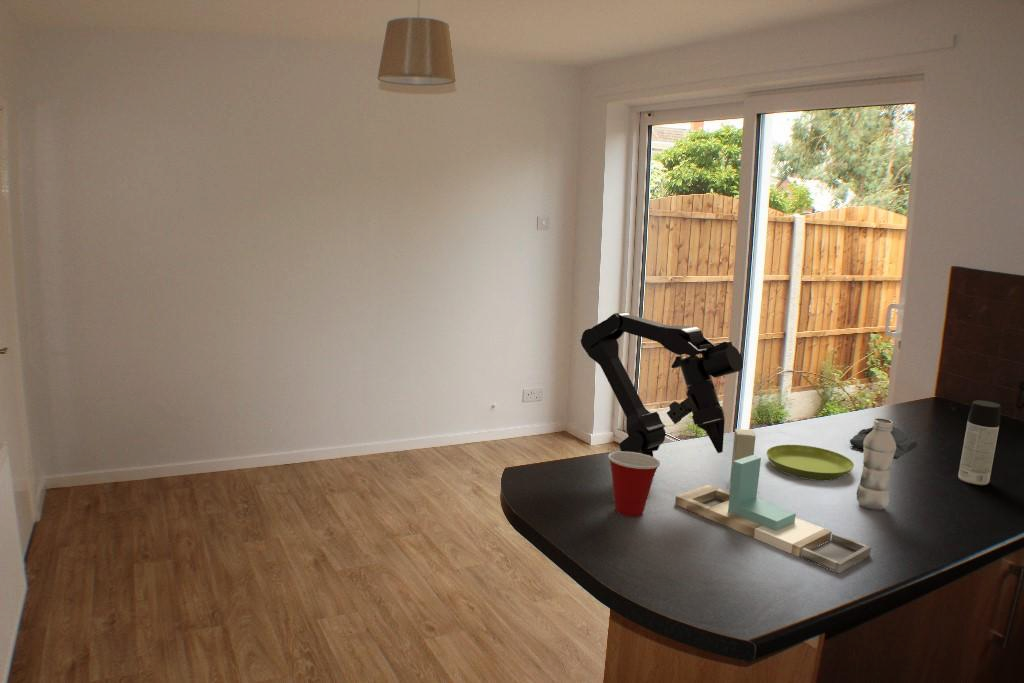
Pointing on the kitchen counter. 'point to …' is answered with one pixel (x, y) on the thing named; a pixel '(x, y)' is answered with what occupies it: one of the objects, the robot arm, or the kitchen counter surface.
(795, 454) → the saucer
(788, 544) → the cream pad
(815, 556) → the birch board
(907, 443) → the dark grey crumpled cloth
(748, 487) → the teal L-block
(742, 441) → the box
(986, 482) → the spray can
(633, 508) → the plastic cup
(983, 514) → the kitchen counter surface
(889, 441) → the plastic bottle
